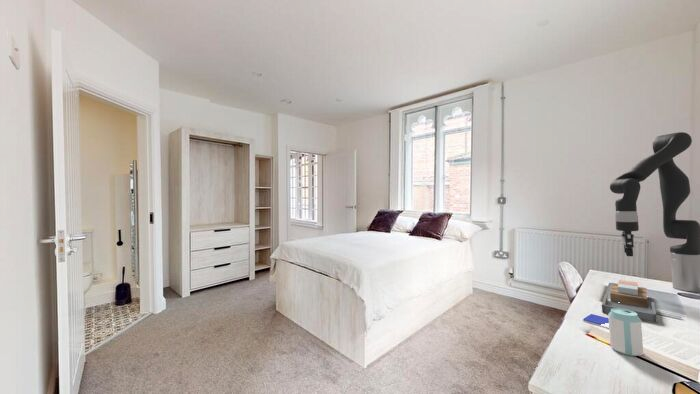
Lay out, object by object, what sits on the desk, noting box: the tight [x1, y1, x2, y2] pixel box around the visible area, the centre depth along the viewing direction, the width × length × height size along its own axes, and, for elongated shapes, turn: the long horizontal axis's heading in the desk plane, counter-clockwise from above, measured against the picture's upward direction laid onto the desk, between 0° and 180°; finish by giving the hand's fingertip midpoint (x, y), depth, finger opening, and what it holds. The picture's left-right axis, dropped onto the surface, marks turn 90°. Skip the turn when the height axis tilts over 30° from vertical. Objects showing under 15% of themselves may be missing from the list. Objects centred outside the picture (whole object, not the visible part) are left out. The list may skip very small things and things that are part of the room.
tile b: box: [617, 283, 639, 295], centre depth 119 cm, size 6×6×2 cm
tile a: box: [618, 279, 639, 287], centre depth 123 cm, size 6×6×2 cm
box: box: [601, 294, 658, 324], centre depth 109 cm, size 16×15×3 cm
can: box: [607, 308, 644, 357], centre depth 82 cm, size 7×7×12 cm
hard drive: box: [582, 313, 609, 326], centre depth 99 cm, size 2×8×12 cm
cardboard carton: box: [609, 282, 649, 308], centre depth 121 cm, size 18×11×4 cm, turn 133°
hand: (628, 254), depth 128 cm, fingers open, 8 cm apart
